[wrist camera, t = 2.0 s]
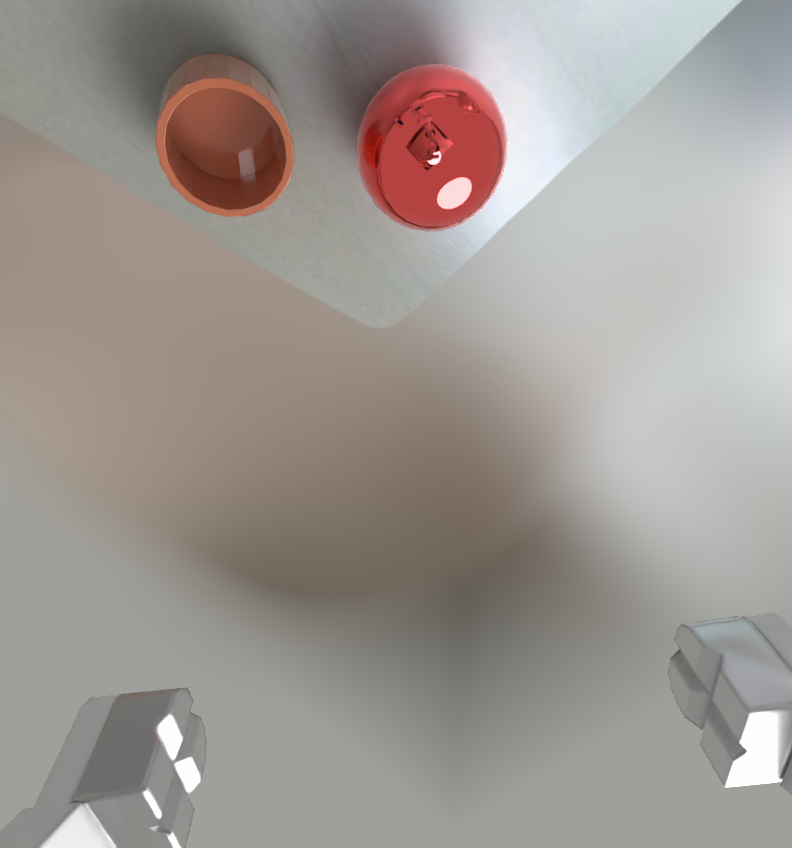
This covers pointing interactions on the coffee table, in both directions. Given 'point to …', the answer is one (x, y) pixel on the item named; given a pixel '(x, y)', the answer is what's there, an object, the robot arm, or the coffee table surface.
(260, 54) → the coffee table surface
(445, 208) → the ball
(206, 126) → the cup
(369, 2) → the coffee table surface
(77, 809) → the robot arm
